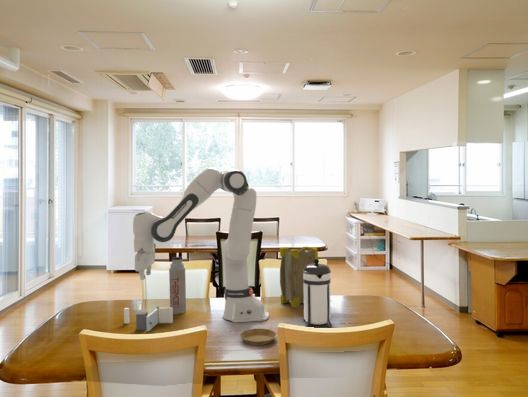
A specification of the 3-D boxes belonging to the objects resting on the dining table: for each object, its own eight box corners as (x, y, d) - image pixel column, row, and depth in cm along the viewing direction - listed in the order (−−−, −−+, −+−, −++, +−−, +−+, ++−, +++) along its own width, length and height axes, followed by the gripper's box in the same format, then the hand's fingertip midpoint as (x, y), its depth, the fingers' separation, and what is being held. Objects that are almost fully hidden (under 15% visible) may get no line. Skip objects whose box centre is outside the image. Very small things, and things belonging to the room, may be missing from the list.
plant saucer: (273, 348, 166) (273, 341, 166) (236, 346, 169) (236, 340, 169) (278, 335, 181) (278, 329, 181) (244, 333, 183) (244, 327, 183)
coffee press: (341, 323, 195) (341, 258, 194) (320, 331, 184) (319, 263, 183) (312, 315, 207) (311, 254, 207) (290, 323, 196) (289, 258, 195)
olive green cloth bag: (307, 297, 241) (306, 244, 240) (320, 301, 232) (319, 246, 231) (278, 303, 230) (277, 248, 229) (291, 308, 220) (290, 250, 220)
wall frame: (172, 322, 200) (172, 306, 200) (172, 322, 199) (171, 307, 199) (125, 322, 200) (124, 306, 200) (124, 323, 199) (124, 307, 199)
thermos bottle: (180, 314, 211) (179, 258, 210) (166, 313, 214) (165, 258, 213) (189, 310, 219) (187, 256, 218) (175, 309, 222) (174, 255, 221)
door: (156, 322, 199) (156, 308, 199) (160, 322, 199) (159, 308, 199) (146, 331, 187) (146, 316, 187) (150, 331, 187) (150, 316, 187)
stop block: (147, 326, 194) (147, 311, 194) (145, 329, 190) (145, 314, 190) (139, 326, 194) (138, 311, 194) (136, 329, 190) (136, 314, 190)
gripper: (144, 250, 184) (146, 282, 184) (156, 243, 204) (158, 272, 205) (130, 251, 184) (131, 282, 184) (143, 244, 204) (145, 272, 205)
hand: (145, 277), depth 195 cm, fingers open, 8 cm apart
